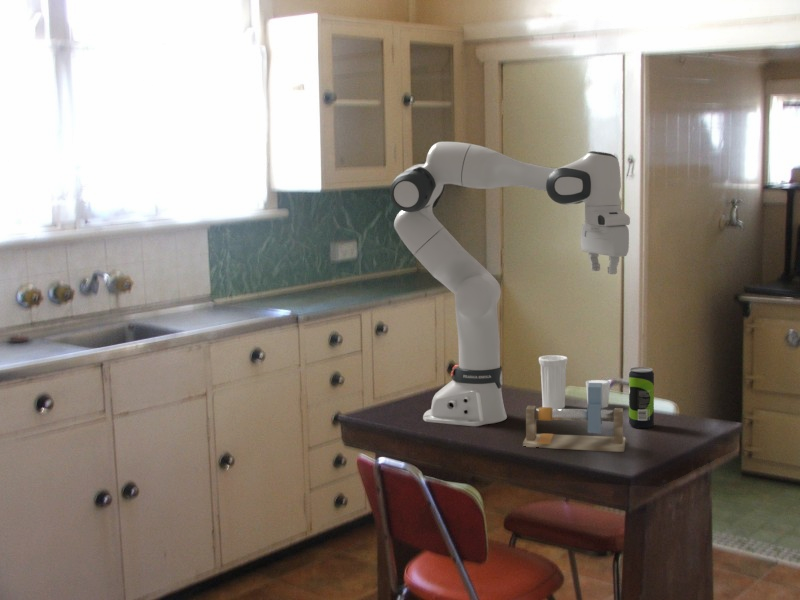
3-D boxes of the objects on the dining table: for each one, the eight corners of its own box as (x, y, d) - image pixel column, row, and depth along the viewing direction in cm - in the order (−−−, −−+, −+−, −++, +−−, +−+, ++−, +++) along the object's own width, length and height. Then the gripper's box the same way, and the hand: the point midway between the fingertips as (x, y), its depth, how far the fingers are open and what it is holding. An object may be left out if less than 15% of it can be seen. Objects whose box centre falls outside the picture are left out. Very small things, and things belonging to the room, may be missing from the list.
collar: (587, 432, 255) (587, 387, 254) (589, 425, 262) (589, 381, 260) (600, 433, 254) (600, 388, 253) (602, 426, 261) (602, 382, 260)
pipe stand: (522, 447, 258) (522, 411, 257) (527, 438, 267) (527, 402, 266) (623, 451, 252) (623, 414, 251) (625, 441, 261) (625, 405, 260)
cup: (544, 403, 304) (543, 354, 302) (571, 405, 300) (571, 356, 298) (535, 410, 297) (534, 359, 295) (563, 412, 293) (562, 361, 291)
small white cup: (582, 403, 302) (582, 379, 302) (606, 402, 303) (606, 378, 302) (589, 409, 296) (589, 384, 295) (613, 408, 296) (613, 383, 295)
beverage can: (658, 425, 276) (658, 368, 274) (645, 430, 271) (645, 372, 270) (637, 422, 280) (637, 365, 278) (624, 426, 276) (624, 369, 274)
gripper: (574, 216, 274) (575, 269, 276) (609, 219, 254) (610, 276, 256) (596, 214, 276) (597, 268, 277) (633, 217, 256) (634, 275, 258)
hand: (603, 272), depth 267 cm, fingers open, 8 cm apart
